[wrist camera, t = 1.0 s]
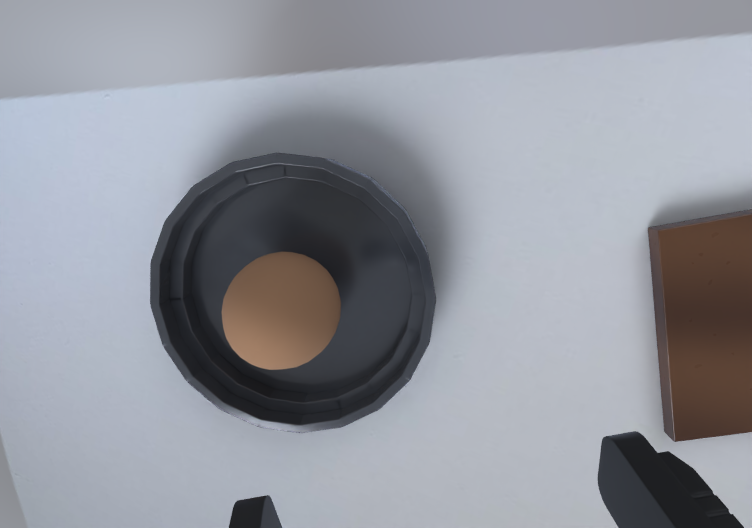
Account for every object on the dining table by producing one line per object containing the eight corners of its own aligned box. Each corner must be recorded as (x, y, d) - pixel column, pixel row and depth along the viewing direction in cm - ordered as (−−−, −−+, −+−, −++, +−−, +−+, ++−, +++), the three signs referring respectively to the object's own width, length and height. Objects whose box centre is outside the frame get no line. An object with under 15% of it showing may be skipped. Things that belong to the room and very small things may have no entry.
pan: (143, 185, 29) (113, 187, 26) (405, 129, 27) (404, 125, 24) (213, 423, 32) (194, 448, 29) (451, 388, 30) (456, 411, 28)
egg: (369, 292, 29) (354, 339, 21) (301, 356, 30) (263, 423, 22) (297, 221, 28) (253, 242, 20) (231, 289, 30) (165, 334, 22)
